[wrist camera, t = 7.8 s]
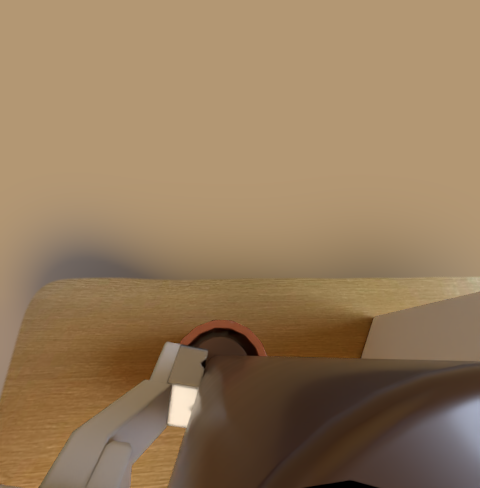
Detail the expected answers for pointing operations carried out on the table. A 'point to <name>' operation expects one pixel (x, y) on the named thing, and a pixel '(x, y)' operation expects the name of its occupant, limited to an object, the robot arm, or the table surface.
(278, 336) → the table surface
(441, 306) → the milk carton
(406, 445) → the stirring stick
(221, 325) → the crock
